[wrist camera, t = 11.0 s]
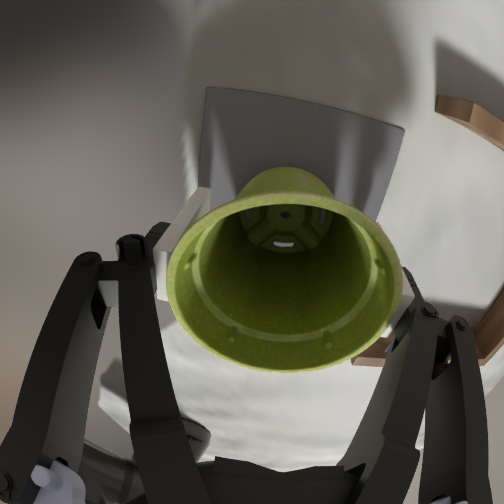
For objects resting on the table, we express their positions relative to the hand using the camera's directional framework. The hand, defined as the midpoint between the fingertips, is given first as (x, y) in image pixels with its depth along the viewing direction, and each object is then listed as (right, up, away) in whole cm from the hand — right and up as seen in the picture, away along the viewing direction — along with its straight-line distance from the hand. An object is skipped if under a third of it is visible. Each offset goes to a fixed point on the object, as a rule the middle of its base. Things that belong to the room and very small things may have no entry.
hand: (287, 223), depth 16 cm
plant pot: (0, +1, +1) cm, 2 cm away
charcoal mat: (0, +1, +2) cm, 2 cm away
